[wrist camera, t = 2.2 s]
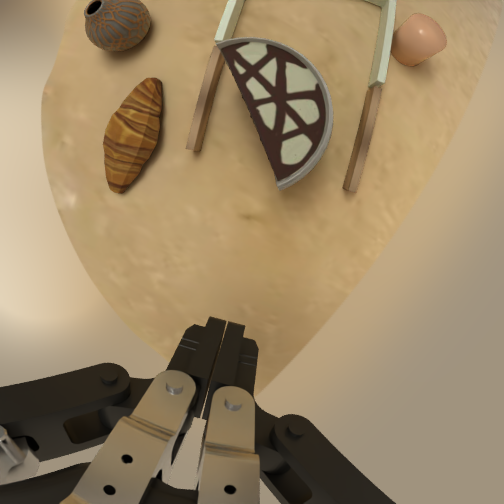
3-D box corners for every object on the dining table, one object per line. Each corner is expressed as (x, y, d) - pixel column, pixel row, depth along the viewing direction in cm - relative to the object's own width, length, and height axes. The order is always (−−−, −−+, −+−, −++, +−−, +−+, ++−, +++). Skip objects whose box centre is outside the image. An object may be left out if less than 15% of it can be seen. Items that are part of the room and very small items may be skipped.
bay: (249, -30, 19) (247, -44, 16) (388, 5, 19) (396, -5, 16) (220, 50, 23) (214, 39, 21) (374, 89, 23) (384, 83, 21)
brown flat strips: (219, 53, 24) (213, 45, 21) (374, 93, 24) (382, 88, 21) (193, 149, 27) (185, 149, 25) (349, 190, 27) (356, 193, 25)
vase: (101, 58, 24) (57, 40, 16) (119, 13, 22) (81, -13, 13) (148, 57, 24) (108, 31, 16) (165, 9, 22) (134, -25, 13)
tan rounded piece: (389, 27, 20) (409, 6, 15) (422, 43, 20) (447, 27, 15) (385, 55, 22) (406, 37, 16) (419, 72, 22) (445, 58, 16)
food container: (335, 162, 26) (365, 165, 17) (278, 182, 28) (280, 194, 18) (290, 55, 23) (295, 11, 14) (234, 75, 24) (213, 38, 15)
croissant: (146, 201, 30) (125, 209, 25) (101, 182, 30) (76, 188, 25) (187, 86, 25) (170, 75, 21) (136, 75, 25) (114, 65, 20)
